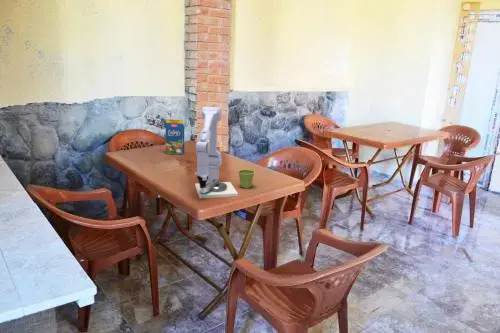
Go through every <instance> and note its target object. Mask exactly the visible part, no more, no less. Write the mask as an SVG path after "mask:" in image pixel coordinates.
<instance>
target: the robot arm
mask: <svg viewBox="0 0 500 333" xmlns="http://www.w3.org/2000/svg"><path fill="white" fill-rule="evenodd" d="M201 117H202V120H203V127H202V129H201V130H200V132H199V136H198V141H196V143H195V154H196V155H195V156H196V171H195V172H194V175H195V176H196V178H197V180H198V183H199V184H200V188H201V187H204V186H206V183H210V182H212V180H214V179H217V180H219V182H221V181H220V178H219V177H220V171H219V170H220V167H221V166H222V163H223V161H222V160H223V157H222V153H221V152H220V151H219V150H218V146H217V145H218V139H217V138H218V122H221V121H222V120H221V119H222V108H221V107H220V106H218V107H217V106H202V108H201Z"/></svg>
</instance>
